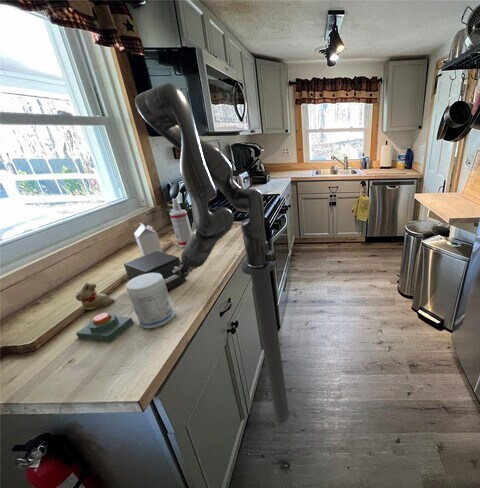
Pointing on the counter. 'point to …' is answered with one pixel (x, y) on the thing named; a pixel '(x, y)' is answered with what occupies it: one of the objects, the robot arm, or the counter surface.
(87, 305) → the chocolate bunny
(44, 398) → the counter surface
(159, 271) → the drawer
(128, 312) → the counter surface
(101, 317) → the button
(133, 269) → the small drawer cabinet
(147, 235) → the milk carton
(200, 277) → the counter surface
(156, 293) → the supplement tub
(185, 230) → the spray bottle
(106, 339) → the block
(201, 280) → the counter surface
